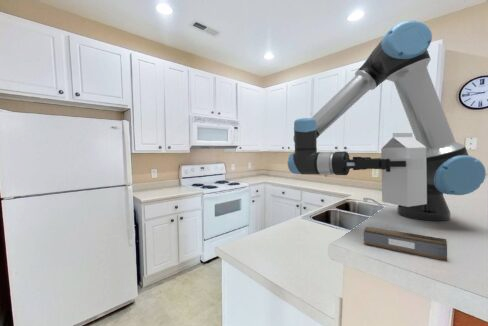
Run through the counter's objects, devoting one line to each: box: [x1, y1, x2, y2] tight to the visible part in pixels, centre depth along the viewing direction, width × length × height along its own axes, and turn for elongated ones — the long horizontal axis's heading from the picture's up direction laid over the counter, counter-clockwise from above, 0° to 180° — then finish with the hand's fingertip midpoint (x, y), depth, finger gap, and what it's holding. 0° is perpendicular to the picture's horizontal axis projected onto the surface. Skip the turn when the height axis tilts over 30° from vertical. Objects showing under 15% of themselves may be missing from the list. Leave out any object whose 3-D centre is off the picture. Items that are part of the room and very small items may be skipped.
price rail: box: [363, 226, 448, 262], centre depth 53 cm, size 3×16×4 cm, turn 50°
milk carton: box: [380, 132, 427, 207], centre depth 59 cm, size 7×7×19 cm
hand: (424, 162), depth 56 cm, fingers closed on milk carton, 10 cm apart
